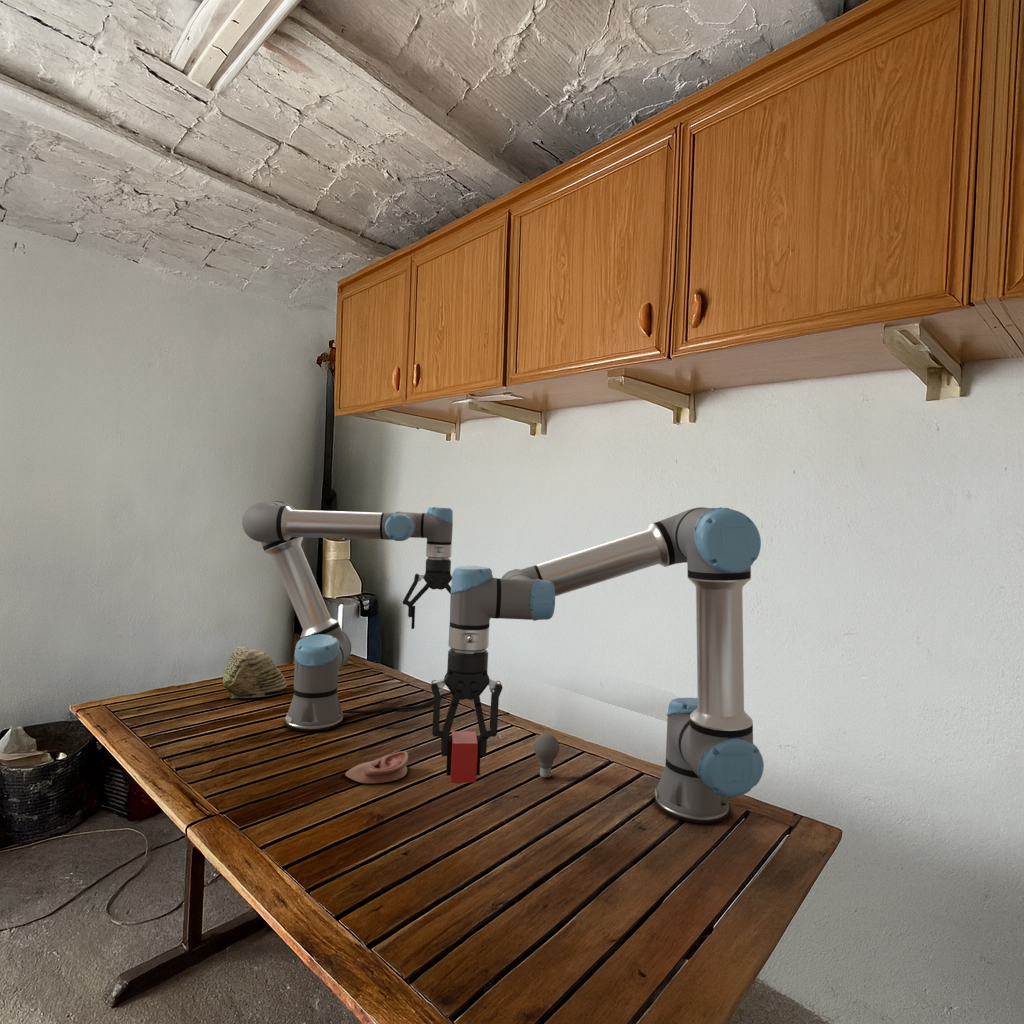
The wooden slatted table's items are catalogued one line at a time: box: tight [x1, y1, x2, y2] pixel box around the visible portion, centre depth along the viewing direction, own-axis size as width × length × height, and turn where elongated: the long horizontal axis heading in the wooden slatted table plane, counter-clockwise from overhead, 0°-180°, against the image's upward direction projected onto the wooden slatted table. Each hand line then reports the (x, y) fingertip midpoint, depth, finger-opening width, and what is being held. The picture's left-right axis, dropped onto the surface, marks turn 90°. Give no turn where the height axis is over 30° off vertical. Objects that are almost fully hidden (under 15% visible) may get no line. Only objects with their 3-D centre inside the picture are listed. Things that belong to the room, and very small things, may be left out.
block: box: [449, 730, 478, 784], centre depth 119 cm, size 5×6×7 cm
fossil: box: [222, 646, 288, 699], centre depth 198 cm, size 9×18×15 cm, turn 132°
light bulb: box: [533, 732, 560, 778], centre depth 148 cm, size 6×6×10 cm
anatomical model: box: [344, 750, 409, 784], centre depth 146 cm, size 13×4×12 cm
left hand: (435, 628), depth 191 cm, fingers open, 13 cm apart
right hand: (462, 772), depth 119 cm, fingers closed on block, 5 cm apart
